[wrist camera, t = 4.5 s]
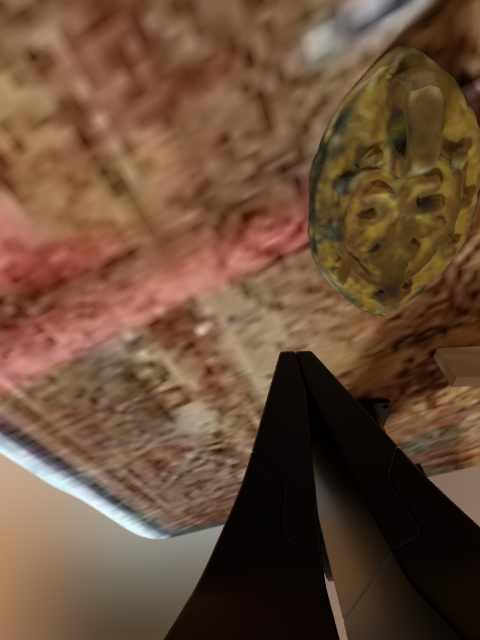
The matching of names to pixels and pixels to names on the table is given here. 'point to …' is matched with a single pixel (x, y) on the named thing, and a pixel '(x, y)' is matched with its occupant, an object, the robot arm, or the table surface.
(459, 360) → the frame
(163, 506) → the table surface
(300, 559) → the robot arm
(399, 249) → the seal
